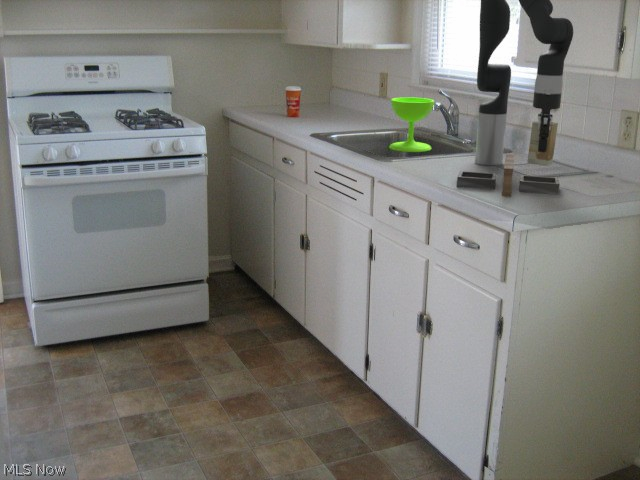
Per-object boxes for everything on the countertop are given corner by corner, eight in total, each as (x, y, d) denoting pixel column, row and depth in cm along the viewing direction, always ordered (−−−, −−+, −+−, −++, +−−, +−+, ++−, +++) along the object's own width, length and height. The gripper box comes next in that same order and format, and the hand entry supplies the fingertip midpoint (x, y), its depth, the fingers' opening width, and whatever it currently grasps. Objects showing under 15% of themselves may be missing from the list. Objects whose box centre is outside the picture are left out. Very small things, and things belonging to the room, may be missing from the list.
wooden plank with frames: (461, 175, 235) (462, 150, 233) (556, 181, 228) (559, 156, 226) (454, 192, 213) (456, 165, 210) (559, 200, 206) (562, 172, 204)
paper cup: (283, 117, 353) (283, 87, 349) (287, 114, 360) (287, 85, 356) (298, 117, 352) (299, 88, 347) (303, 115, 359) (303, 86, 354)
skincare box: (526, 163, 216) (530, 121, 213) (532, 161, 220) (536, 119, 216) (547, 166, 213) (552, 123, 209) (553, 164, 216) (558, 122, 212)
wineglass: (419, 153, 270) (421, 103, 264) (381, 148, 278) (383, 100, 273) (438, 147, 282) (441, 99, 277) (401, 142, 291) (404, 96, 285)
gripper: (534, 88, 217) (528, 145, 222) (534, 93, 204) (528, 153, 209) (560, 89, 215) (554, 146, 221) (562, 94, 202) (555, 155, 207)
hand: (541, 149), depth 215 cm, fingers closed on skincare box, 5 cm apart
